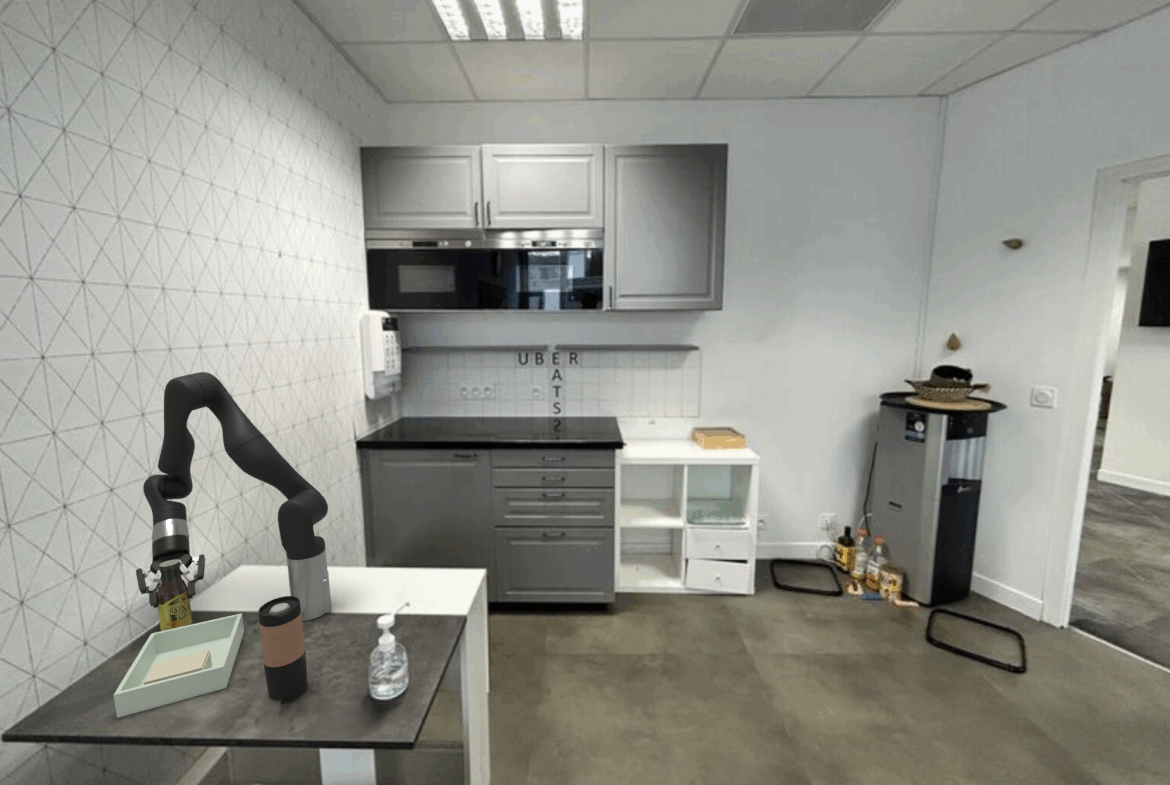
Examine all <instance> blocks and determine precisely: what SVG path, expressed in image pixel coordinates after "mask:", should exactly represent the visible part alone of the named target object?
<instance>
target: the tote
mask: <svg viewBox="0 0 1170 785" xmlns="http://www.w3.org/2000/svg"><path fill="white" fill-rule="evenodd" d="M244 627H245V626H244V620H243V612H242V613H237V614H233V615H229V616H223V617H219V618H215V619H209V620H207V621H206V620H205V621H202V622H197V623H193V624H192V625H187V626H183V627H178V628H174V629H169V630H165V631H161V630H160V631H156V632H152V633H150V635H149V637H148V638H147V640H146V641H145V643H144V645H143V646H142V648H141V649H140V651H139V653H138V654H137V656H136V658H135V659H134V661H133V663H132V664H131V666H130V667H129V669H128V670H127V672H126V674H125V675H124V677H123V679H122V680H121V682H120V684H119V685H118V687H117V689H116V690H115V692H114V694H113V702H114V706H115V712H116V718H117V719H118V718H122V717H126V716H129V715H133V714H137V713H141V712H144V711H147V710H151V709H152V710H153V709H155V708H158V707H163V706H166V705H170V704H173V703H174V704H175V703H176V702H181V701H184V700H187V699H191V698H195V697H199V696H202V695H206V694H209V693H213V692H217V691H220V690H223V689H227V687H228V685H229V682H230V681H229V680H230V679H231V675H232V671H233V668H234V665H235V662H236V659H237V656H238V653H239V649H240V645H241V643H242V639H243V637H244V633H245V628H244ZM206 650H209V652H211V660H212V668H208V669H204V670H201V671H197V672H193V673H189V674H185V675H181V676H177V677H173V678H169V679H166V680H162V681H158V682H154V683H150V684H146V685H143V684H144V681H145V679H146V678H147V676H148V674H149V672H150V670H151V668H152V667H153V665H154V663H157V662H161V661H165V660H169V659H173V658H177V657H182V656H186V655H190V654H194V653H198V652H202V651H206Z"/></svg>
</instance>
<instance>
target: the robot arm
mask: <svg viewBox="0 0 1170 785" xmlns="http://www.w3.org/2000/svg"><path fill="white" fill-rule="evenodd" d="M204 408H207V409H209V411H210V412H212V414H213V415H214V416H215V417H216V419H217V420H218V421H219V423H220V426H221V431H222V440H223V441H222V443H223V448H224V450H225V453H226V454H227V455H228V457H229V458H230V459H231V460H232V462H234V464H235V465H237V467H238V468H239V469H240V470H241V471H242V472H243V473H245V474H246V475H248V476H250V477H252V478H255V479H256V480H258V481H261V482H263V483H266V484H268V485H270V486H272V487H274V488H275V489H277V491H279V492H280V493H281V494H282V495H283V496H284V497H285V498H286V499H287V500H285V501H284V502H283V503H282V504H280V506H279V508H278V511H277V523H278V531H279V536H280V537H279V538H280V542H281V546H282V548H283V550H284V552H285V554H286V562H287V563H286V564H287V565H286V566H287V574H288V584H289V585H288V586H289V592H290V594H289V595H290V596H295V597H297V598H299V600H300V607H301V615H302V622H303V621H310V620H315V619H317V618H320V617H321V616H324V615H325V613H326V614H328V613H331V612H332V611H331V610H332V597H331V586H330V575H329V570H328V561H327V560H328V559H327V551H326V542H325V539H324V537H322V536H320V535H315V529H314V526H315V525H316V524H317V523H319V522H321V521H322V520H323V519H325V517H326V516H327V515H328V512H329V504H328V502H327V499H326V498H325V496H324V495H322V493H321V492H320V491H319V490H318V489H317V488H315V487H314V486H313V485H312V484H311V483H309V481H308V480H306V479H305V478H304V477H303V476H302V475H301V474H300V473H299V472H298V471H296V469H295V468H294V467H293V466H292V465H291V464H290V463H289V462H288V460H286V459H285V458H284V457H283V455H282V454H281V453H280V452H279V451H278V449H277V448H276V447H275V446H274V445H273V444H272V443H271V441H270V440H269V439H268V438H267V437H266V436H265V434H263V433H262V432H261V431H260V429H258V427H256V425H254V423H253V422H252V421H251V419H250V418H249V417H248V416H247V415H246V413H244V411H243V410H242V409H241V407H240V406H239V405H238V404H237V402H236V401H235V400H234V399H233V397H232V395H231V394H230V393H229V391H228V390H227V389H226V387H225V385H224V384H223V383H222V382H221V381H220V379H218V377H216V376H215V375H214V374H213V373H209V372H206V371H203V372H202V371H201V372H200V371H199V372H193V373H189V374H184V375H181V376H176V377H174V378H172V379H170V380H168V382H167V383H166V385H165V388H164V393H163V439H162V446H161V450H160V453H159V458H158V462H157V467H158V468H157V469H158V470H159V472H161V473H162V474H153V475H150V476H149V477H147V479H146V480H145V481H144V482H143V486H142V487H143V488H142V490H143V494H144V496H145V499H146V502H147V503H148V505H149V508H150V510H151V513H152V534H151V555H152V562H151V564H150V566H148V567H146V568H137V569H136V570H135V575H136V581H137V585H138V590H139V592H140V594H141V595H145V594H148V599H149V600H148V601H149V602H148V603H149V605H150V607H153V608H154V609H157V608H158V598H157V591H158V588H159V587H160V585H161V583H162V581H161V579H162V578H161V571H160V570H159V565H160V564H161V563H163V562H165V561H169V560H174V559H178V560H180V574H181V577H182V578H184V579H185V580H186V581H187V583H186V584H187V588H188V597H189V599H190V600H191V599H193V598H194V597H193V596H195V595H196V593H197V591H196V583H197V582H198V581H202V580H203V579H204V578H205V570H206V569H205V567H206V557H205V554H204V553H203V554H202V553H201V554H199V555H198V556H192V555H191V549H190V531H189V526H188V520H187V519H188V518H187V517H188V516H187V508H186V505H185V504H184V503H183V502H180V501H175V500H180V499H181V500H182V499H186V498H188V496H190V494H192V491H193V489H194V488H193V487H194V485H193V480H192V475H191V465H192V462H193V458H194V454H195V449H196V444H195V439H194V437H193V435H192V433H191V432H190V430H189V427H188V420H189V417H190V415H191V413H192V411H196V410H200V409H204ZM173 500H174V501H173ZM193 563H194V564H195V565H196V566H197V573H196V574H195V575H193V574H192V573H191V572H190V570H189V567H190V566H191V564H193ZM151 572H152V573H153V574H154V577H153V579H152V582H151V584H150V585H149V586H147V582H146V578H148V576H149V573H151Z"/></svg>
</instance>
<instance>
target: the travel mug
mask: <svg viewBox="0 0 1170 785" xmlns="http://www.w3.org/2000/svg"><path fill="white" fill-rule="evenodd" d="M258 622H259V632H260V633H259V634H260V640H261V652H262V660H263V662H262V663H263V667H264V668H263V669H264V673H265V680H266V686H267V693H268V697H269V699H271V700H272V701H280V704H281V705H283V704H287V703H289V702H293V701H295V700H297V699H298V698H299V697H301V696H302V695H303V694H304V693H305V692H306V691H307V689H308V671H307V670H308V669H307V657H306V656H307V655H306V654H307V653H306V652H307V651H306V641H305V633H304V624H303V621H302V615H301V607H300V600H299V598H297V597H295V596H291V595H287V596H286V595H285V596H280V597H276V598H273V599H271V600H268V601H267V602H265V603H264V604H262V605H261V606H260V608H259V609H258Z"/></svg>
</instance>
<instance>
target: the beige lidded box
mask: <svg viewBox="0 0 1170 785" xmlns="http://www.w3.org/2000/svg"><path fill="white" fill-rule="evenodd" d="M208 668H212V660H211V652H209V650H206V651H202V652H198V653H194V654H190V655H186V656H182V657H177V658H173V659H169V660H165V661H161V662H157V663H154V665H153V667H152V668H151V670H150V672H149V674H148V676H147V678H146V679H145V681H144V684H143V685H146V684H150V683H154V682H158V681H162V680H166V679H169V678H173V677H177V676H181V675H185V674H189V673H193V672H197V671H201V670H204V669H208Z"/></svg>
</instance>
